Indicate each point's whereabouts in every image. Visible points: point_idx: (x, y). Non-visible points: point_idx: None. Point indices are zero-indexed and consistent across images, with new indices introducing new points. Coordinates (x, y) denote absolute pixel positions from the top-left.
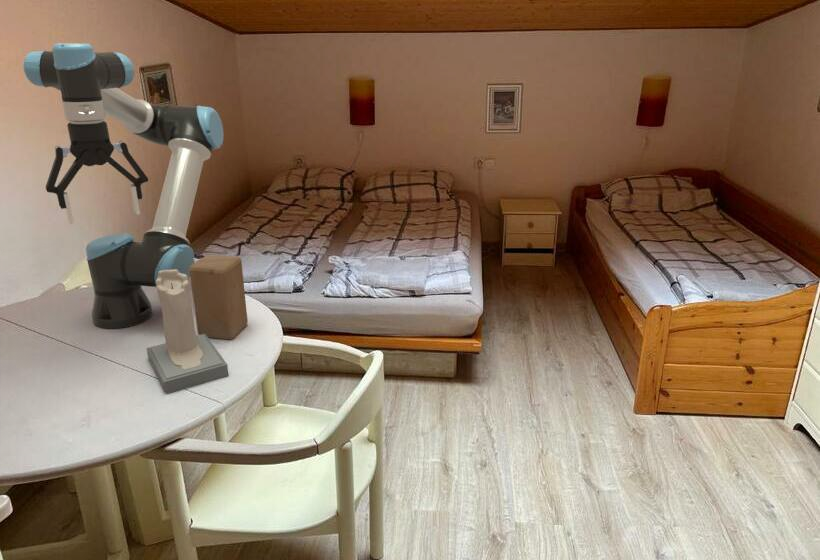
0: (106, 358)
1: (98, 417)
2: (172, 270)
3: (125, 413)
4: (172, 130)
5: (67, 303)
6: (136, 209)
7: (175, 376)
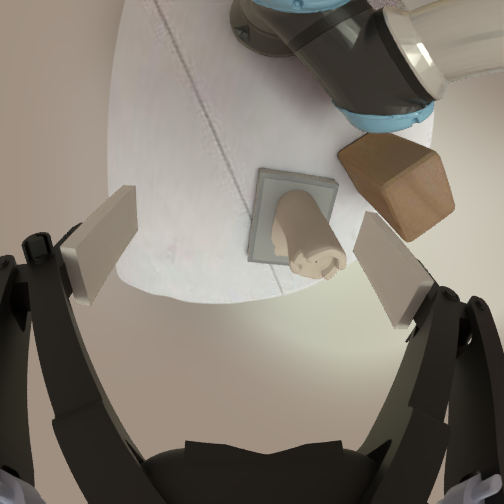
0: (214, 132)
1: (181, 253)
2: (333, 256)
3: (204, 261)
4: None
5: None
6: (361, 263)
7: (261, 260)
